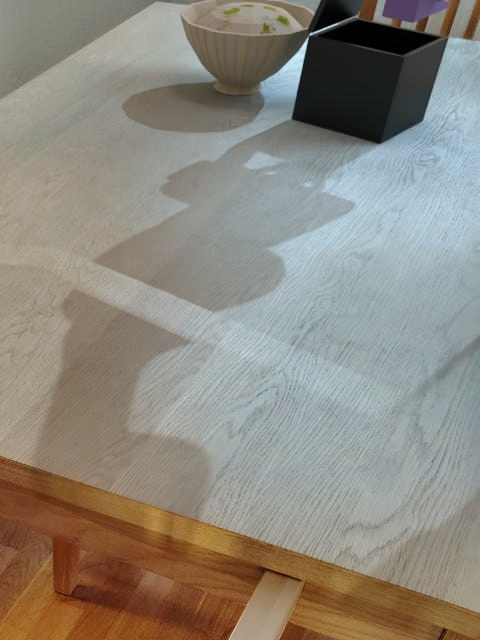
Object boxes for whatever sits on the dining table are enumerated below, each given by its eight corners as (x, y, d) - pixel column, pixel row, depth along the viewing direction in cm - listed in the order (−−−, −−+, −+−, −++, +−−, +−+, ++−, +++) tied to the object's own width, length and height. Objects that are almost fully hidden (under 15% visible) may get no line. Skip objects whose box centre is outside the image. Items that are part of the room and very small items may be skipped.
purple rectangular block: (417, 1, 113) (424, -23, 111) (448, 7, 111) (456, -17, 109) (381, 16, 109) (387, -9, 107) (413, 23, 107) (420, -2, 105)
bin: (423, 120, 121) (449, 37, 114) (380, 143, 116) (404, 57, 109) (335, 97, 128) (354, 17, 120) (291, 118, 122) (308, 35, 115)
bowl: (172, 64, 138) (181, -14, 131) (300, 68, 136) (317, -11, 129) (169, 107, 126) (179, 23, 118) (310, 113, 124) (329, 28, 116)
